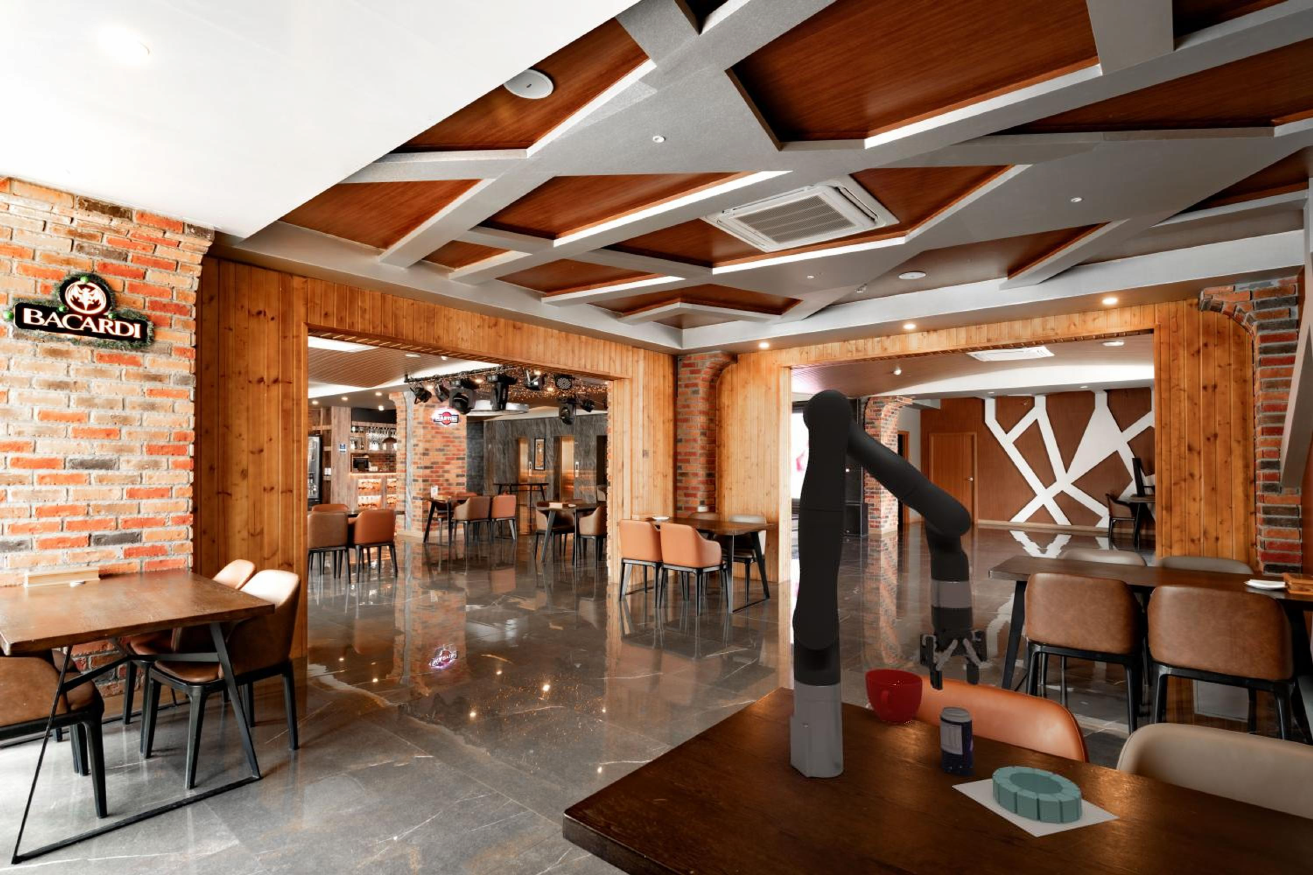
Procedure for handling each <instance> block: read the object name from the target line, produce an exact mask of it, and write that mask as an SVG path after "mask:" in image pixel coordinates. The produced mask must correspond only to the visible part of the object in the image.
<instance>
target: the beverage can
mask: <svg viewBox="0 0 1313 875" xmlns="http://www.w3.org/2000/svg"><path fill="white" fill-rule="evenodd" d="M970 714H971V713H970V711H969V710H967V709H966V708H962V707H958V706H944V707H943V708H942V709H941V712H940V715H939V720H940V722H939V723H940V725H939V726H940V727H939V729H940V750H941V751H940V752H941V753H940V754H941V769H942V770H943V771H944V772H946V773H947V774H949V775H952V776H957V777H964V778H965V777H970V776H972V775H973V774H975V768H974V767H975V766H974V765H975V764H974V762H975V761H974V759H975V758H974V738H973V737H974V736H973V719H972V717H971V715H970Z"/></svg>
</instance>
